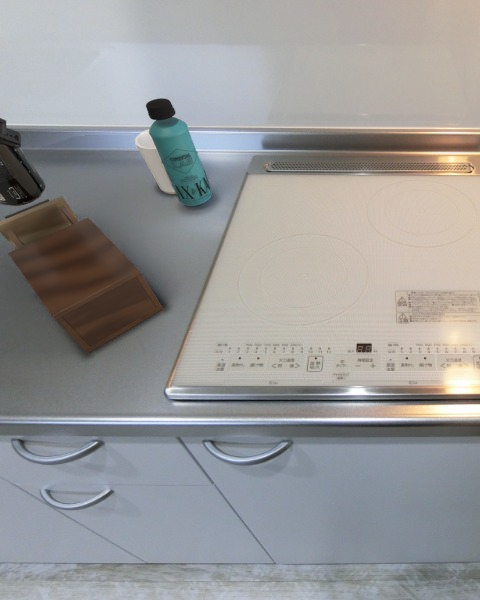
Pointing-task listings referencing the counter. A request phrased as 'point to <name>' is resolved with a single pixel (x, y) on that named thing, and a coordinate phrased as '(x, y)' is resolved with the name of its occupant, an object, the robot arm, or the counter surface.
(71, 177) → the counter surface
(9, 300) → the counter surface
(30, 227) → the drawer
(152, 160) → the mug
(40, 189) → the beverage can
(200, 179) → the beverage bottle
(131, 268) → the cabinet
